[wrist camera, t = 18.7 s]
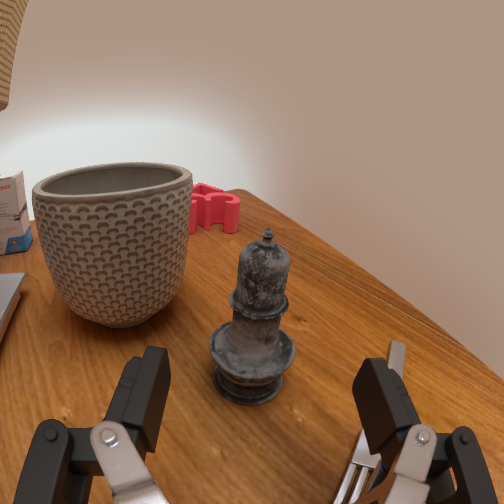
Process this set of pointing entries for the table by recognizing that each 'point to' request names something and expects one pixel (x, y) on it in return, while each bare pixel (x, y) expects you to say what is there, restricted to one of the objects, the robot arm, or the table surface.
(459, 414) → the table surface
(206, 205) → the letters
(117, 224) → the planter
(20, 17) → the desk lamp
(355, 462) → the fork
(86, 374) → the table surface
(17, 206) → the ink box
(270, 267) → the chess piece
